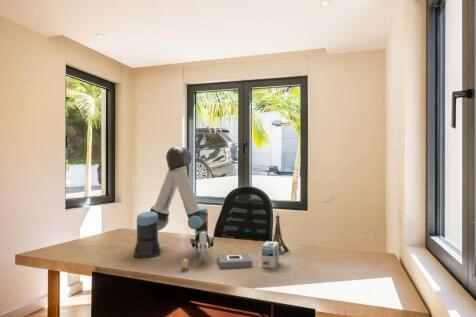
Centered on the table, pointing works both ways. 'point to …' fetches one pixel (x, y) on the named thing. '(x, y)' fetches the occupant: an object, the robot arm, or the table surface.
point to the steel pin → (202, 247)
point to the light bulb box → (270, 254)
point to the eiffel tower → (278, 235)
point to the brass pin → (184, 264)
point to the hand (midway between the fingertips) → (203, 248)
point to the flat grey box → (234, 260)
